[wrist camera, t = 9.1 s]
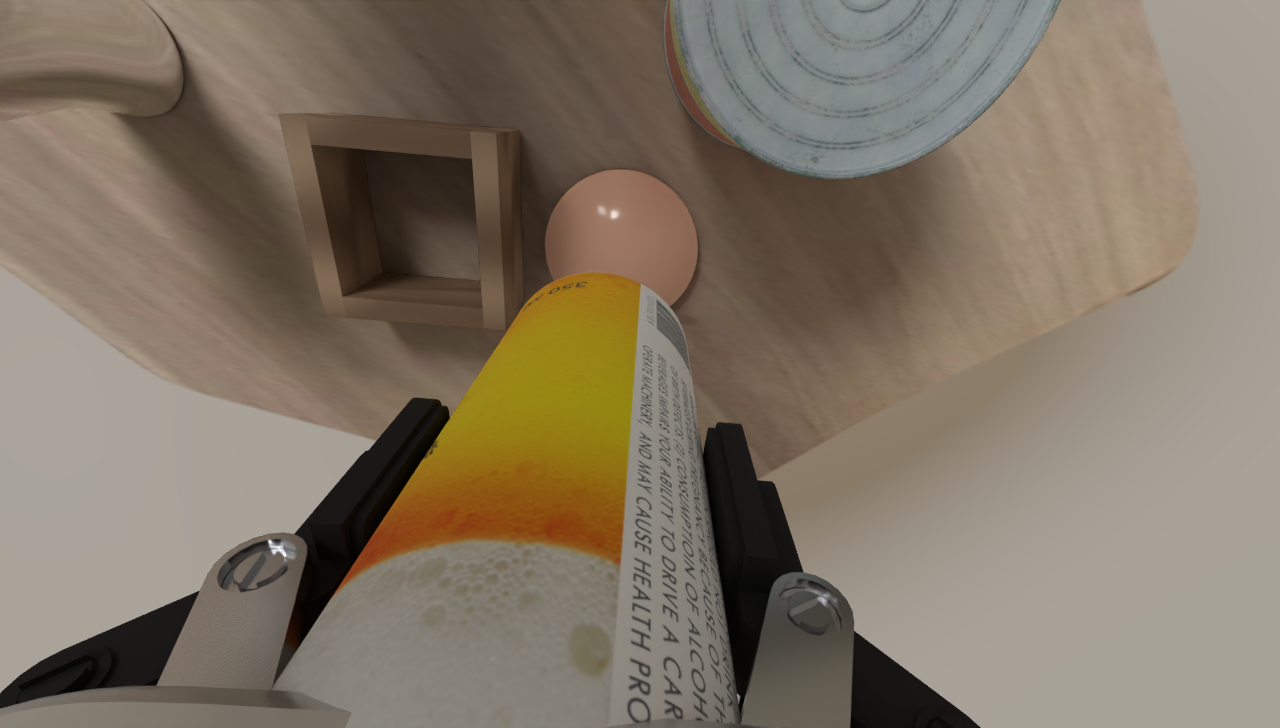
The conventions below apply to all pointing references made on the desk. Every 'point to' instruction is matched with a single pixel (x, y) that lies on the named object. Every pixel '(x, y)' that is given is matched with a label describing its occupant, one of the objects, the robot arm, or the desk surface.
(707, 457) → the robot arm
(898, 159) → the canned food
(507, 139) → the can holder
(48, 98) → the beer glass
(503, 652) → the beer can
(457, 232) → the desk surface
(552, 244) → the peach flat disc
